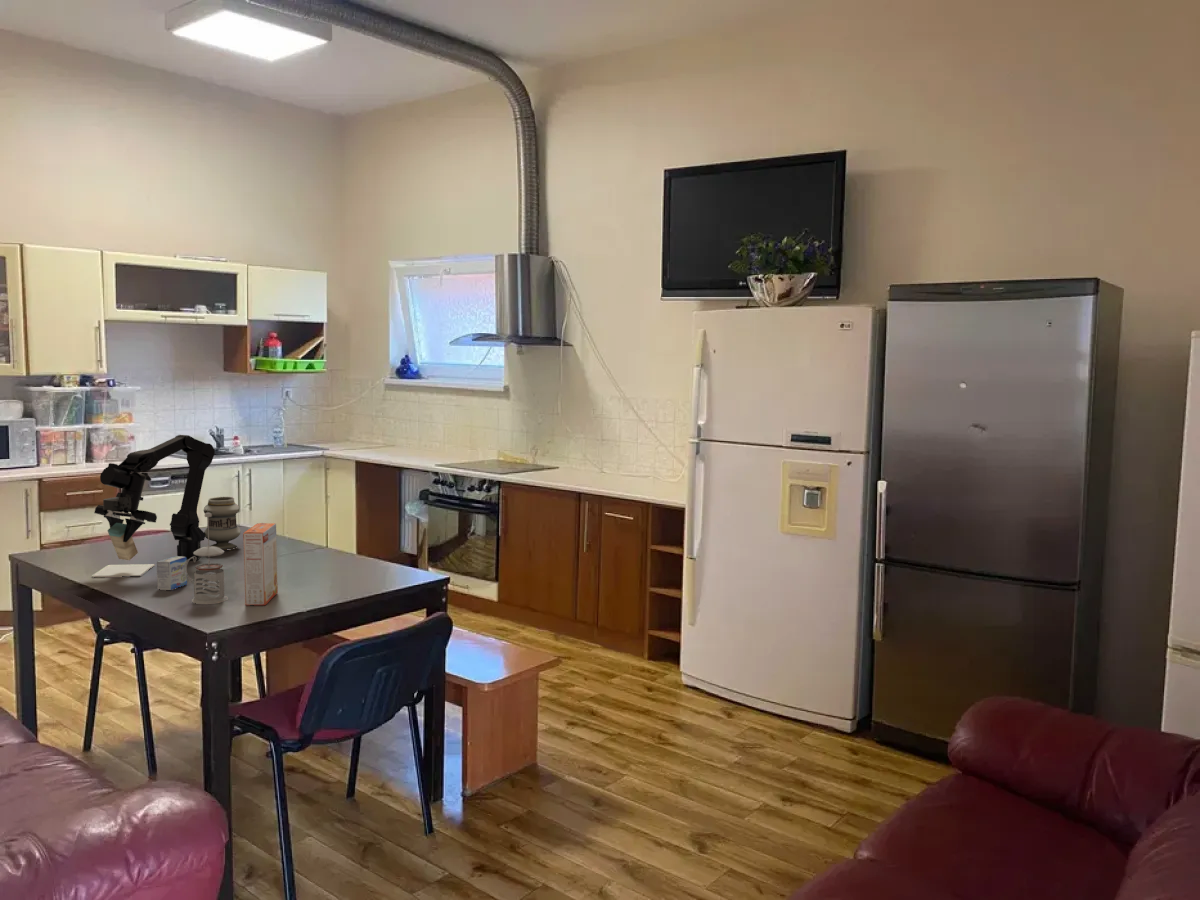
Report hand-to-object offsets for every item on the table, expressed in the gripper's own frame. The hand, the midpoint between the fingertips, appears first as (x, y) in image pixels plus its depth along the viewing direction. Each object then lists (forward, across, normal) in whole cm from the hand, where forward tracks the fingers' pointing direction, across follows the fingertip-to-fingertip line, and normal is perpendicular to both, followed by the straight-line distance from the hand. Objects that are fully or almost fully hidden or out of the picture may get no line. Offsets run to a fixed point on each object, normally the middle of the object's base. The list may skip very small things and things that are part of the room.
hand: (118, 541), depth 290 cm
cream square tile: (+9, -2, +8) cm, 12 cm away
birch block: (+4, 0, +6) cm, 7 cm away
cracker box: (+11, +57, -6) cm, 59 cm away
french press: (+14, +43, -11) cm, 47 cm away
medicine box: (+12, +25, -3) cm, 28 cm away
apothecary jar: (-5, +3, +46) cm, 47 cm away
